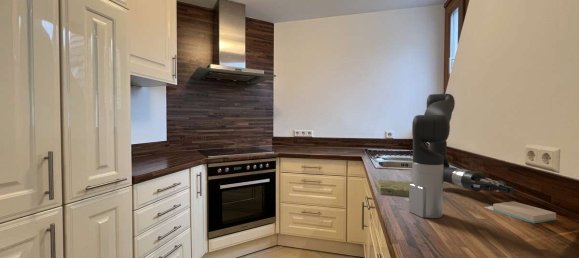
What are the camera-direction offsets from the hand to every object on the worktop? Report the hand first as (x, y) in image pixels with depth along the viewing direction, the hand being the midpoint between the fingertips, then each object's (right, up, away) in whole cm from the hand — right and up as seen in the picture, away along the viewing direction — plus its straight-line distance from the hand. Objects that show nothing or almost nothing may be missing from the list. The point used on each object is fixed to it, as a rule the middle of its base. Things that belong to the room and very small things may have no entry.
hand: (512, 191), depth 90 cm
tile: (-1, -6, +3) cm, 7 cm away
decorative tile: (-27, -7, +27) cm, 39 cm away
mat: (+1, -7, 0) cm, 8 cm away
